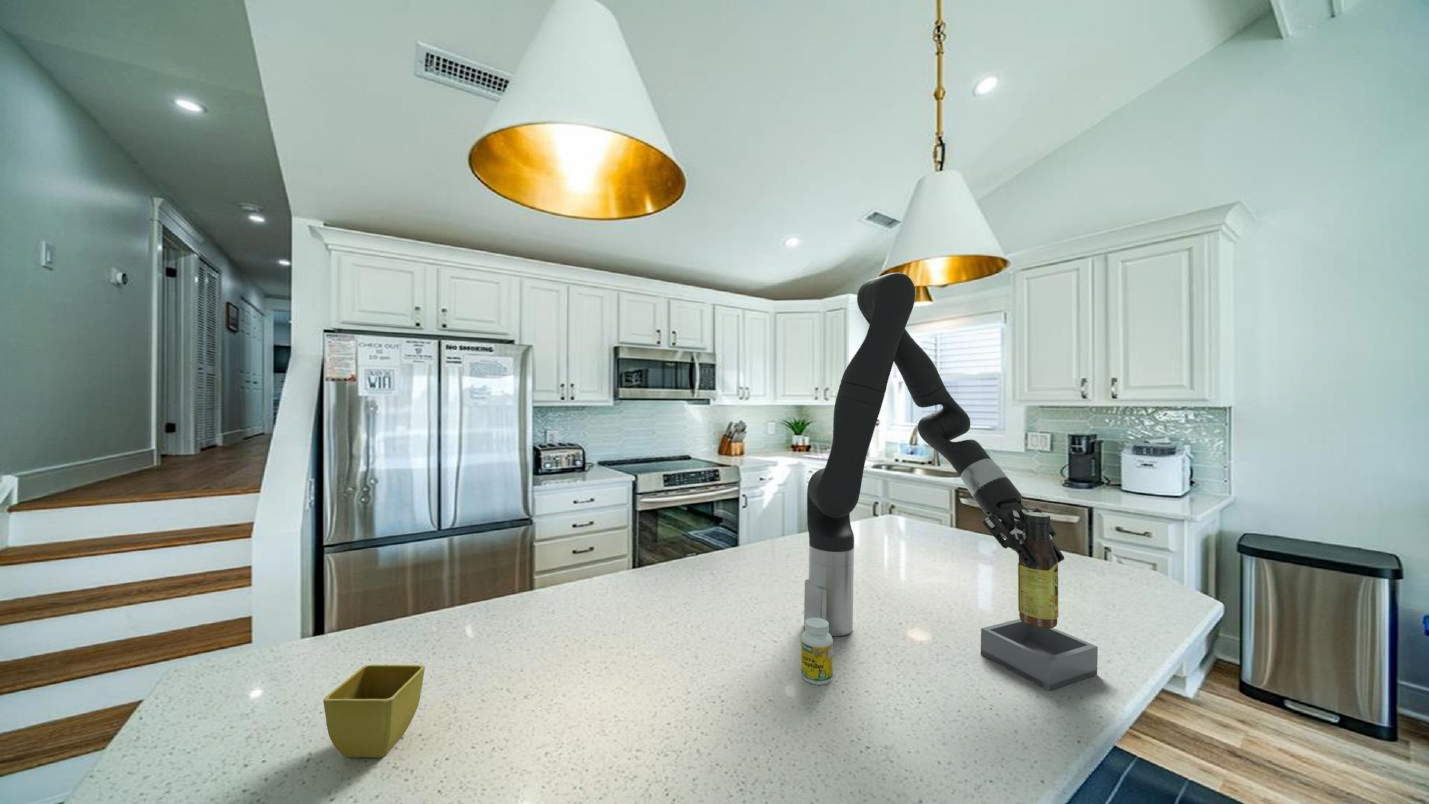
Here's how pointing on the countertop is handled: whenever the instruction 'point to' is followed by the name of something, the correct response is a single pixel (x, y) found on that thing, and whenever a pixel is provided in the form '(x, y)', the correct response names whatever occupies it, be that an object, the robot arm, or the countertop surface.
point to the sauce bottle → (1038, 575)
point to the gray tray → (1039, 653)
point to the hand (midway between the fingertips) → (1047, 563)
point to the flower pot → (373, 708)
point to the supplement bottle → (816, 652)
